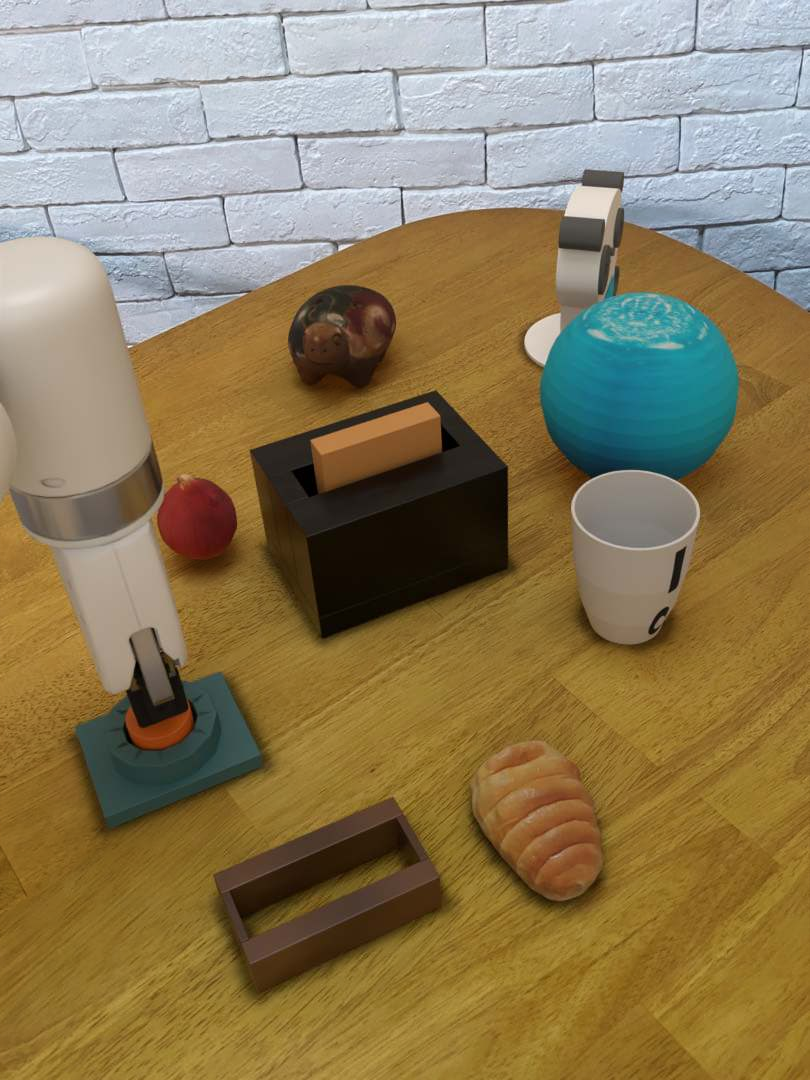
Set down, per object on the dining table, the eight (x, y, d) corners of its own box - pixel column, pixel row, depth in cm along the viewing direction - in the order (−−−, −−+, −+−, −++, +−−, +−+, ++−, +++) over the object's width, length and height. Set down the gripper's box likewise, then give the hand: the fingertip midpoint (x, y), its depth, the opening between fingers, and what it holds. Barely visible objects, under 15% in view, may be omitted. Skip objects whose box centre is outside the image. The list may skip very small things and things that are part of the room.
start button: (141, 766, 69) (135, 748, 68) (124, 721, 72) (118, 703, 71) (203, 741, 70) (198, 723, 69) (184, 698, 73) (179, 680, 72)
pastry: (632, 883, 63) (636, 844, 61) (522, 924, 62) (522, 886, 59) (559, 759, 70) (560, 719, 68) (458, 794, 69) (456, 755, 66)
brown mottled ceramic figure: (279, 415, 101) (263, 333, 96) (315, 336, 112) (302, 260, 108) (386, 413, 99) (375, 330, 94) (411, 334, 111) (402, 257, 106)
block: (109, 829, 68) (97, 799, 66) (78, 737, 74) (67, 707, 72) (263, 766, 71) (257, 735, 69) (223, 682, 77) (216, 652, 75)
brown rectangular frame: (257, 993, 60) (249, 965, 58) (221, 903, 64) (212, 874, 62) (442, 906, 63) (440, 876, 61) (396, 826, 67) (393, 795, 65)
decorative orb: (511, 503, 89) (511, 338, 80) (572, 402, 99) (579, 244, 90) (700, 548, 84) (725, 377, 74) (744, 437, 94) (772, 273, 84)
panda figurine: (634, 387, 101) (647, 230, 91) (510, 372, 104) (510, 218, 94) (654, 320, 109) (669, 169, 99) (539, 307, 112) (542, 161, 102)
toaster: (322, 639, 79) (306, 537, 73) (267, 548, 87) (249, 449, 81) (508, 568, 84) (508, 466, 77) (441, 488, 91) (436, 389, 85)
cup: (674, 671, 75) (689, 559, 69) (554, 647, 77) (558, 537, 71) (692, 590, 81) (708, 480, 74) (580, 570, 83) (586, 461, 76)
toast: (335, 565, 82) (321, 454, 76) (325, 549, 83) (309, 439, 77) (446, 525, 85) (440, 415, 78) (434, 510, 86) (427, 401, 80)
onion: (218, 522, 90) (200, 440, 85) (258, 557, 86) (242, 474, 81) (154, 555, 87) (131, 473, 82) (193, 593, 84) (172, 510, 78)
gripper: (-13, 429, 62) (74, 655, 74) (44, 593, 52) (135, 825, 64) (120, 388, 64) (183, 615, 76) (200, 539, 54) (259, 774, 66)
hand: (161, 710), depth 70 cm, fingers closed
